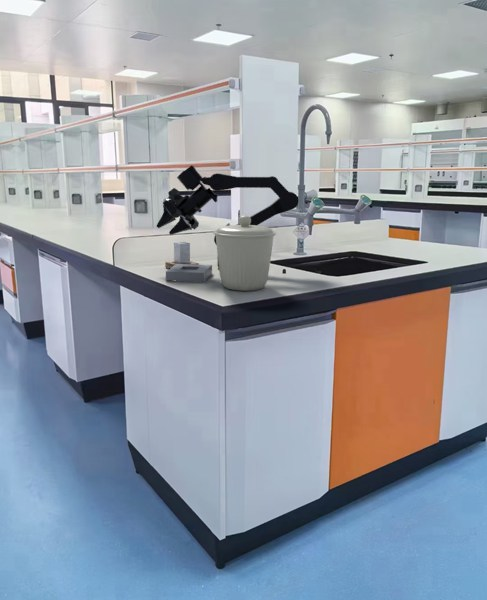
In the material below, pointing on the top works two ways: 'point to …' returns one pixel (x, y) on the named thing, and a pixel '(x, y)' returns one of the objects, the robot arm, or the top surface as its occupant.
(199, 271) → the grey flat block
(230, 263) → the canister
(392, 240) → the top surface
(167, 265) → the walnut stand collar
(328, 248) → the top surface
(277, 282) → the top surface
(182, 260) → the steel key peg
